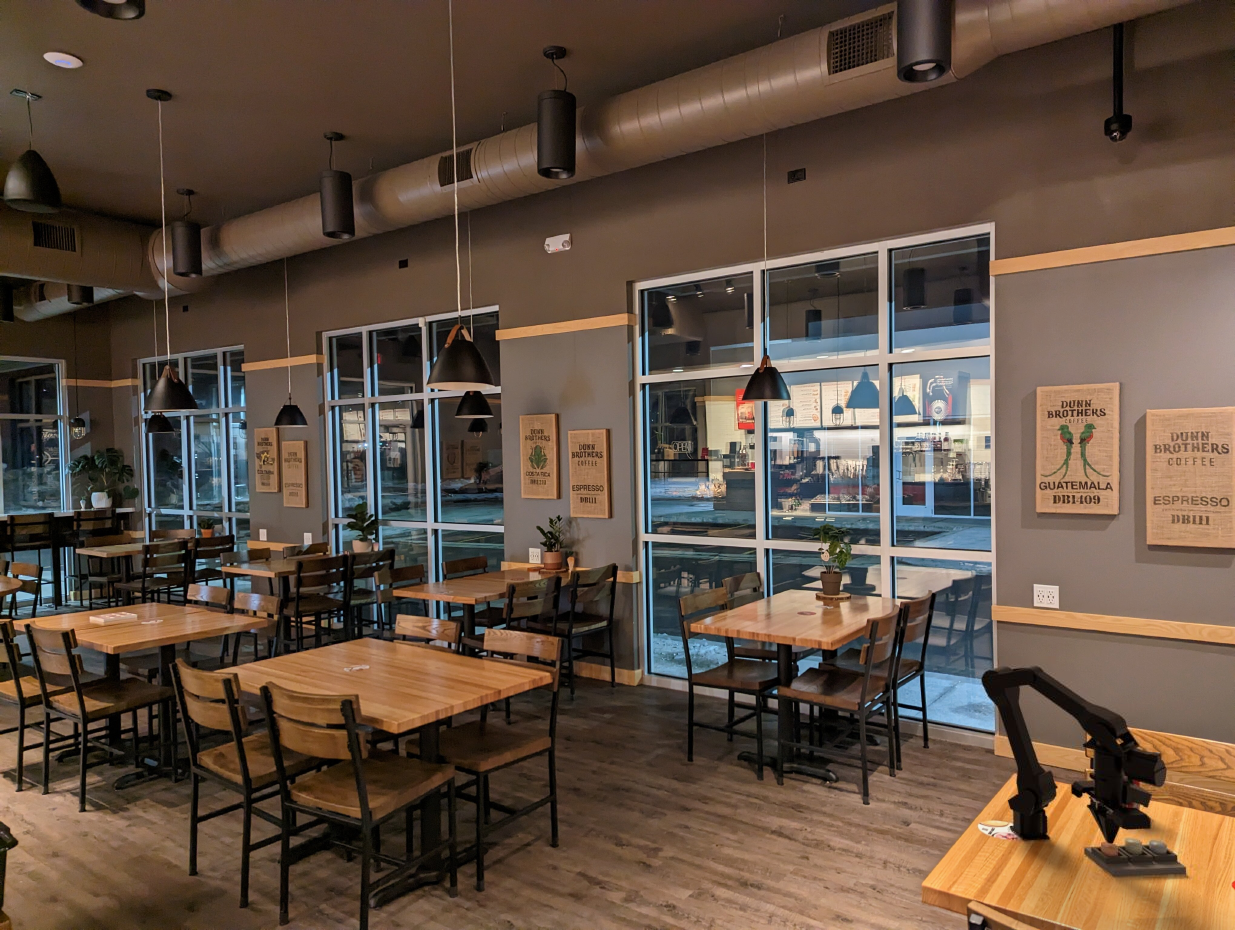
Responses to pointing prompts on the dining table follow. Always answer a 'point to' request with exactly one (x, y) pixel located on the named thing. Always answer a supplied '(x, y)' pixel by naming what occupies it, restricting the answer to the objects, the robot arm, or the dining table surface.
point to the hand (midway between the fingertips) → (1109, 842)
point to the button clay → (1109, 849)
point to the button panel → (1136, 862)
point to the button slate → (1157, 847)
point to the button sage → (1133, 846)
